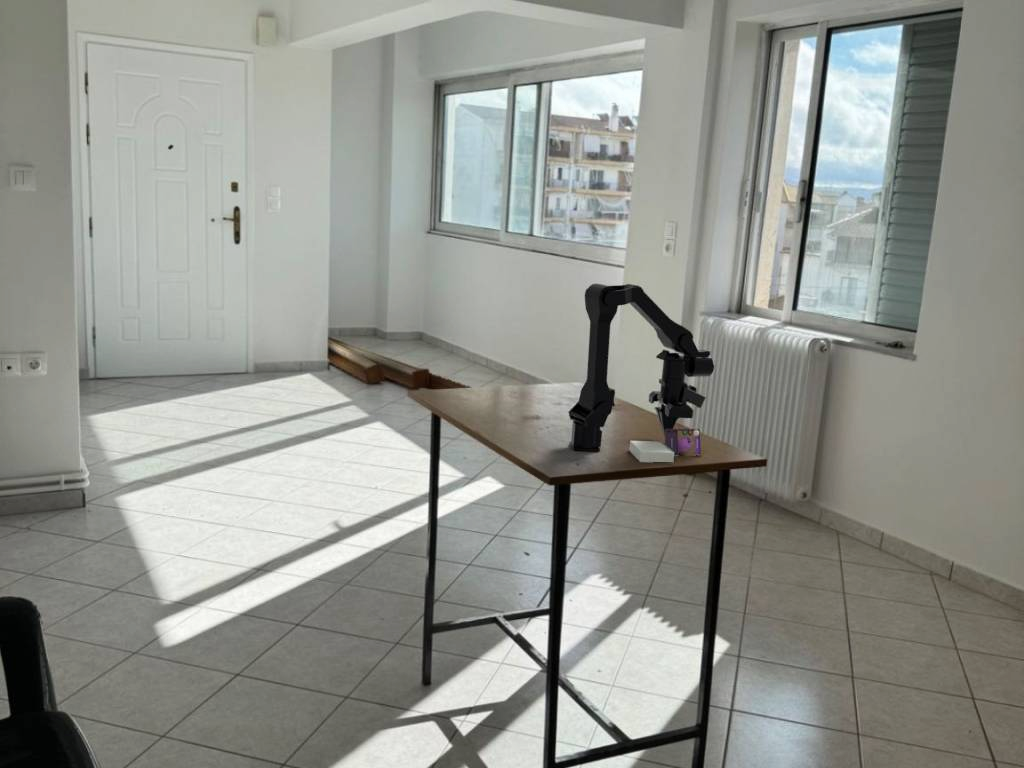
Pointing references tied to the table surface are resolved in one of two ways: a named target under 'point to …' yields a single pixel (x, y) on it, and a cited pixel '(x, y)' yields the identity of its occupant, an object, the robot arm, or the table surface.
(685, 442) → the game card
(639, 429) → the table surface
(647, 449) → the slab
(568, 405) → the table surface
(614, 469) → the table surface
